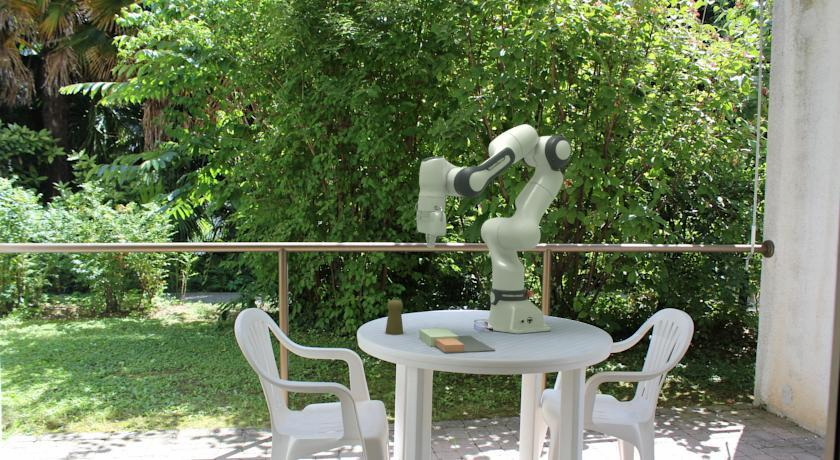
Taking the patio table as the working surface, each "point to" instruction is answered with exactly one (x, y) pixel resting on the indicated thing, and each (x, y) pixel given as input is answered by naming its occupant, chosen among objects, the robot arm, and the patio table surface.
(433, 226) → the robot arm
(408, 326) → the patio table surface
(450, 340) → the block
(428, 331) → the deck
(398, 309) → the cork
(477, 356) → the patio table surface
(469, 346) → the mat
